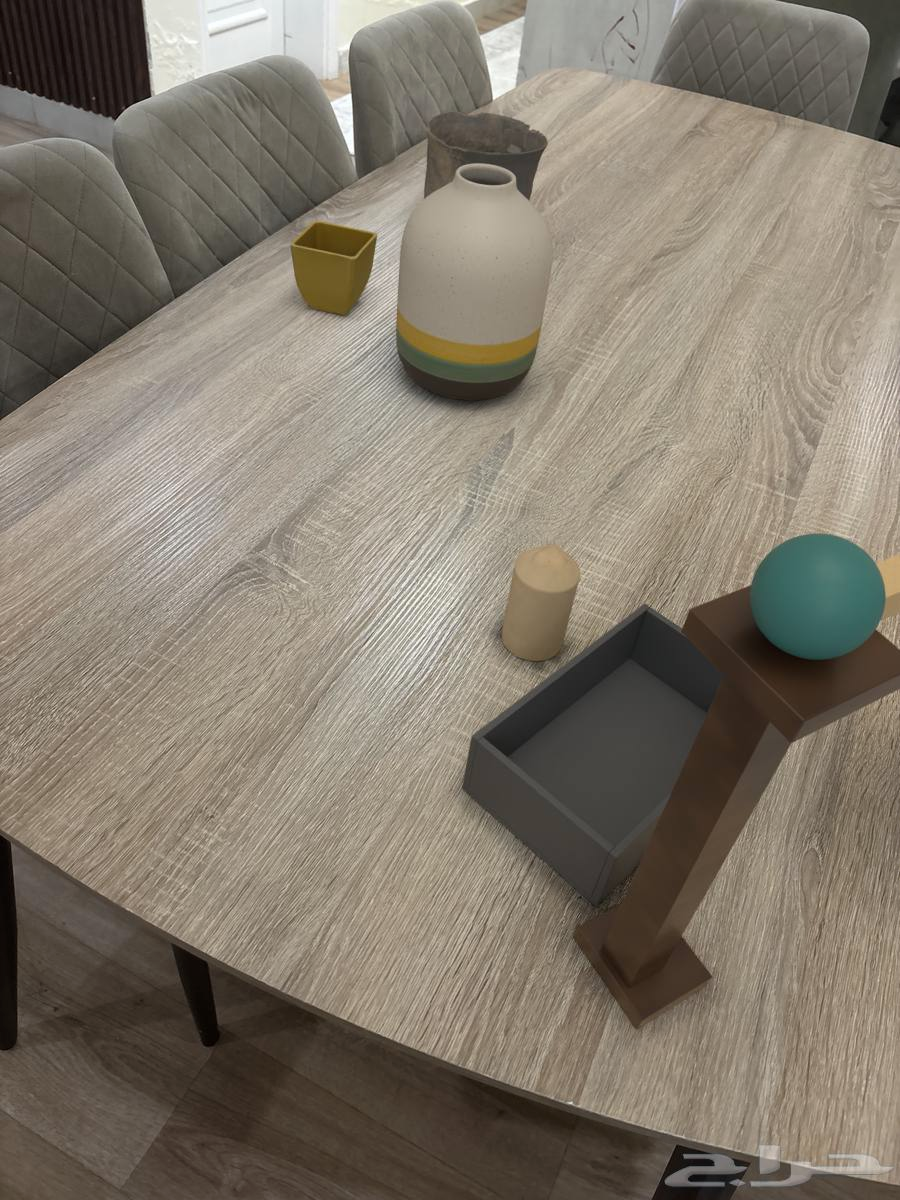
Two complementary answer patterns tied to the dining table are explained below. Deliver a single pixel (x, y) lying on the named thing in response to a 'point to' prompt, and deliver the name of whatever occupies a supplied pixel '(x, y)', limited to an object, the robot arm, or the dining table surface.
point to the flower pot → (332, 265)
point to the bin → (596, 750)
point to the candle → (540, 602)
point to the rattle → (822, 595)
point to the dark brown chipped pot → (481, 148)
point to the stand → (721, 793)
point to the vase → (472, 285)
